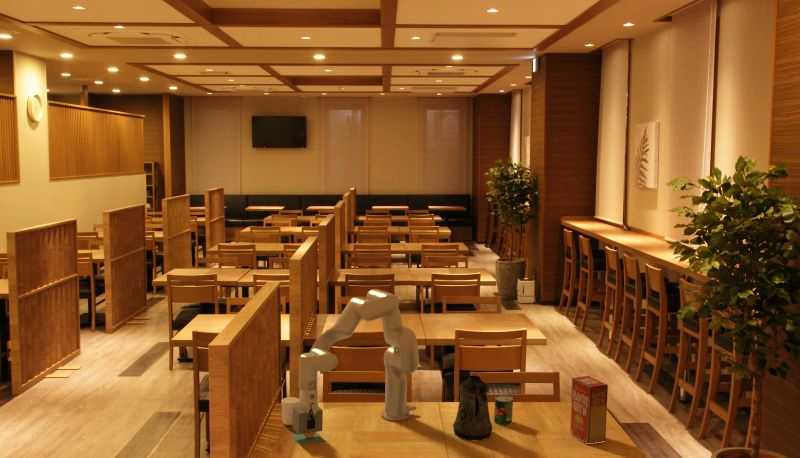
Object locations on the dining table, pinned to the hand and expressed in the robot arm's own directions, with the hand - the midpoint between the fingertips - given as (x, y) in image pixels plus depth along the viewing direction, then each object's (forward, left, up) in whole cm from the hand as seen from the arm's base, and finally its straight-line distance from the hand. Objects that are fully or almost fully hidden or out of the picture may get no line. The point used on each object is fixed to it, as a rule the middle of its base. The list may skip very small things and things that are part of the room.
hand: (307, 424), depth 323 cm
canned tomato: (-85, +18, -6) cm, 87 cm away
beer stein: (-66, +25, -6) cm, 71 cm away
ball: (-1, 0, -3) cm, 3 cm away
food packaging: (-107, +48, -6) cm, 117 cm away
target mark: (0, 0, -6) cm, 6 cm away
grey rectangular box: (0, 0, -2) cm, 2 cm away
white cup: (0, -20, -6) cm, 21 cm away
